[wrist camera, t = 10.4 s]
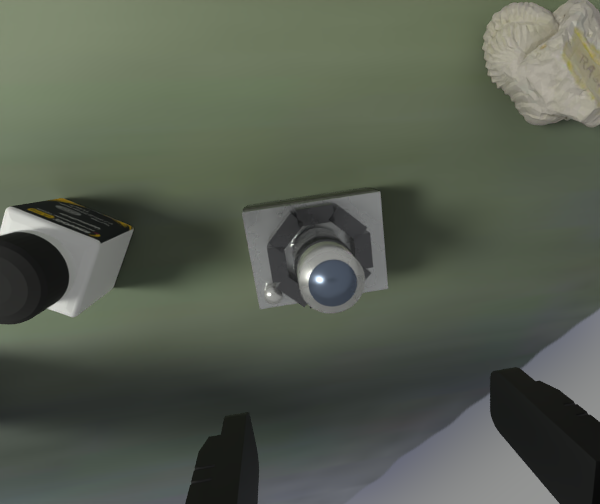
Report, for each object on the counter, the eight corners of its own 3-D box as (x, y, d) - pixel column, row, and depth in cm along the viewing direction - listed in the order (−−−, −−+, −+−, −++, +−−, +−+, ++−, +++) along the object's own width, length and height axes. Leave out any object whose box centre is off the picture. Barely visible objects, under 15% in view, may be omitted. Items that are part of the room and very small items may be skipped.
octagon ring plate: (261, 290, 36) (258, 319, 29) (246, 205, 34) (238, 215, 27) (373, 272, 36) (395, 297, 30) (365, 187, 34) (388, 192, 27)
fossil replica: (488, -8, 31) (444, 107, 34) (549, -60, 23) (485, 97, 26) (610, 30, 31) (557, 141, 34) (712, -7, 23) (630, 141, 26)
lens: (296, 280, 31) (303, 321, 23) (288, 230, 30) (293, 255, 22) (346, 272, 31) (370, 310, 23) (340, 222, 30) (364, 244, 22)
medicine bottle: (136, 226, 34) (62, 259, 22) (114, 289, 35) (33, 351, 23) (62, 196, 32) (-58, 214, 21) (42, 262, 34) (-80, 314, 22)
